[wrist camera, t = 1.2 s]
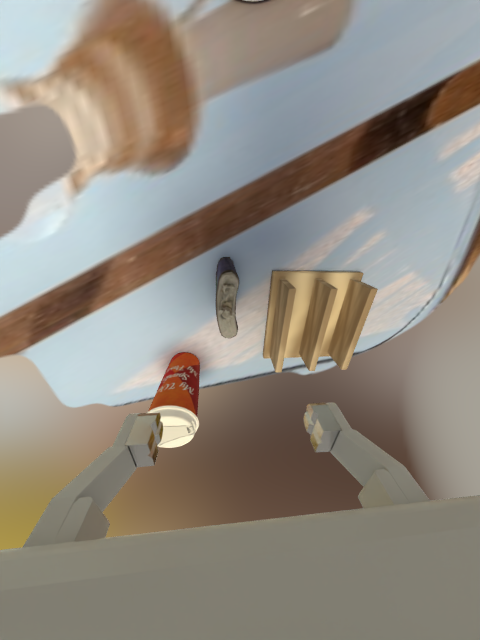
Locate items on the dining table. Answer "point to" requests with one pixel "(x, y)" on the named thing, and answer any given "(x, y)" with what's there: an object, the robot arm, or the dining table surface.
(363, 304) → the rack
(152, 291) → the dining table surface
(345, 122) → the dining table surface
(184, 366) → the paper cup
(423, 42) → the dining table surface
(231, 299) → the flask
